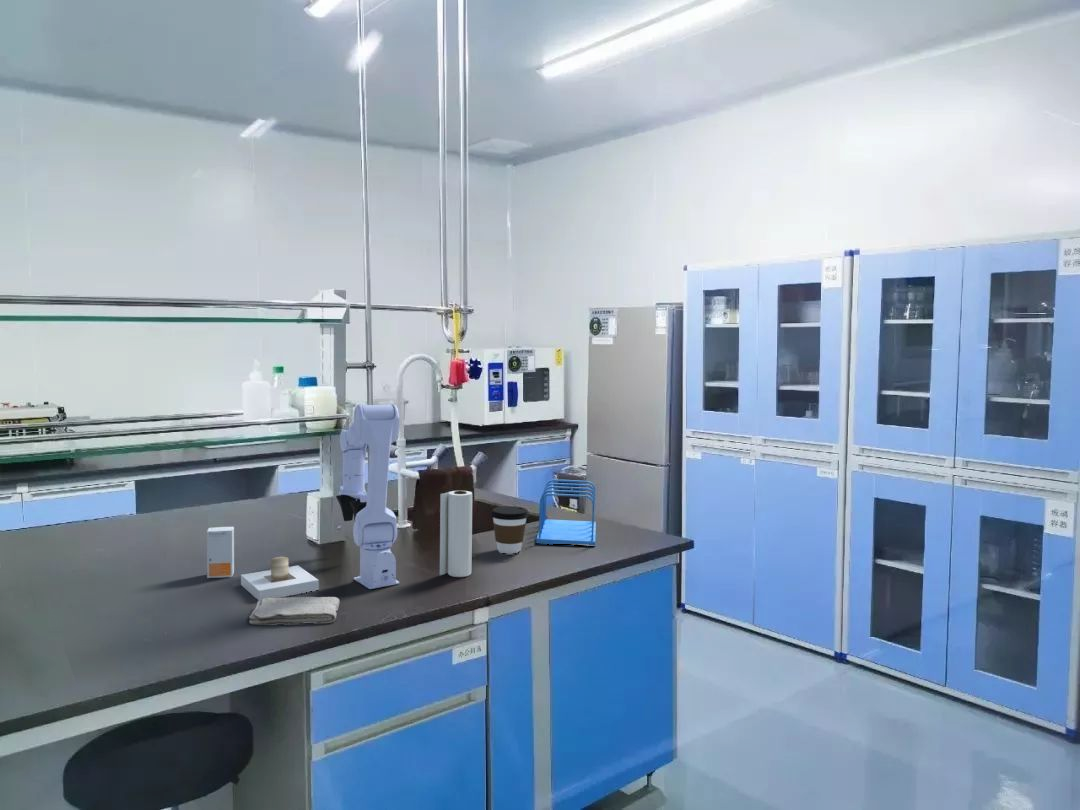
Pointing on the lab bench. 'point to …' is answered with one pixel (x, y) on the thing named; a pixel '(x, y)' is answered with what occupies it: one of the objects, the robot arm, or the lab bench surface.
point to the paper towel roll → (456, 533)
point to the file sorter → (564, 528)
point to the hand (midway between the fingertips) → (353, 523)
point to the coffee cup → (509, 527)
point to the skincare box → (220, 552)
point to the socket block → (279, 584)
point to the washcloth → (294, 610)
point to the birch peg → (279, 569)
